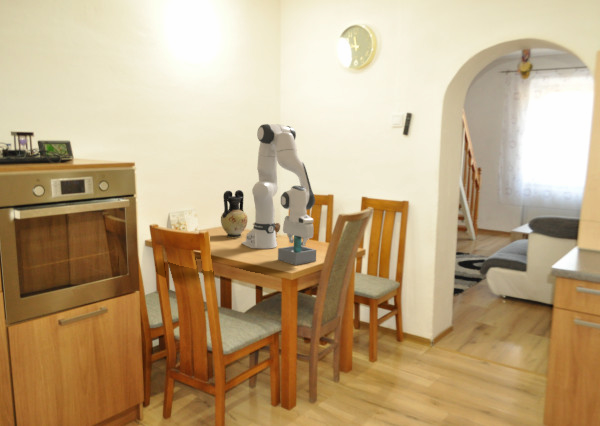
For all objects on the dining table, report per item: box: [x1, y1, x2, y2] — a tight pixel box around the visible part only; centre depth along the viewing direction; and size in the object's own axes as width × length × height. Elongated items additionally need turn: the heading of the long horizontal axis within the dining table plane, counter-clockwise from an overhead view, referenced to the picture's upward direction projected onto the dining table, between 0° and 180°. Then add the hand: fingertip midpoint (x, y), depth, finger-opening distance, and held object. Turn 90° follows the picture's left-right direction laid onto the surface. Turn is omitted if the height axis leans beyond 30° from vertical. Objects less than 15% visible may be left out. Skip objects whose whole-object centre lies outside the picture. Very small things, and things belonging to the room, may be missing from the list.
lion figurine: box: [274, 222, 281, 238], centre depth 302 cm, size 15×5×9 cm, turn 128°
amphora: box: [220, 189, 249, 239], centre depth 299 cm, size 18×17×30 cm
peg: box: [293, 235, 303, 253], centre depth 241 cm, size 4×4×12 cm
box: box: [277, 245, 317, 266], centre depth 242 cm, size 14×14×6 cm
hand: (297, 244), depth 241 cm, fingers open, 8 cm apart
